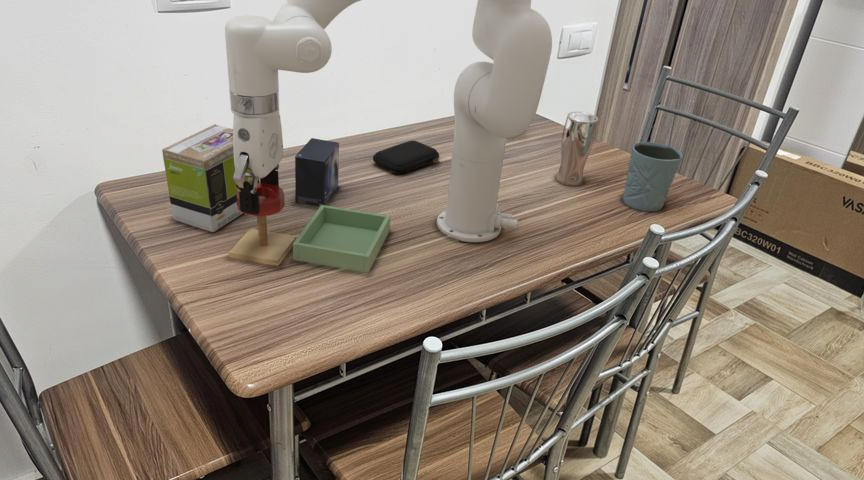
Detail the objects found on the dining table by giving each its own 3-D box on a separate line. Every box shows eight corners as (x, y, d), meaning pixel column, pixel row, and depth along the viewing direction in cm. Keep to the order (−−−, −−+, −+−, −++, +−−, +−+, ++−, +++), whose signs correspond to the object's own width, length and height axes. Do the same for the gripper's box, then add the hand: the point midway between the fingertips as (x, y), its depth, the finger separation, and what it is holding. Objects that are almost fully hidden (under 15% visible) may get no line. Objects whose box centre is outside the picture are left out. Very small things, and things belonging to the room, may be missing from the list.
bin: (389, 232, 130) (390, 215, 128) (368, 275, 118) (368, 256, 116) (321, 221, 132) (321, 204, 130) (293, 261, 120) (292, 243, 118)
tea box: (221, 191, 141) (215, 122, 133) (262, 203, 137) (258, 133, 129) (170, 220, 129) (160, 146, 121) (213, 234, 126) (205, 159, 118)
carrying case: (402, 179, 151) (445, 162, 160) (403, 166, 149) (446, 150, 158) (368, 164, 157) (412, 148, 166) (369, 151, 155) (413, 136, 164)
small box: (325, 209, 137) (325, 160, 131) (294, 205, 138) (292, 156, 132) (340, 187, 145) (340, 141, 140) (310, 183, 146) (310, 136, 141)
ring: (290, 199, 120) (290, 186, 118) (273, 219, 113) (273, 206, 112) (248, 192, 121) (247, 180, 119) (229, 212, 114) (228, 199, 113)
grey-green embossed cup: (610, 200, 148) (624, 148, 142) (632, 187, 155) (646, 137, 148) (654, 217, 143) (670, 164, 136) (675, 203, 149) (691, 151, 143)
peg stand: (296, 243, 125) (295, 191, 119) (278, 268, 118) (275, 213, 112) (250, 235, 126) (246, 183, 121) (229, 259, 119) (224, 205, 113)
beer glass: (551, 182, 154) (563, 118, 146) (557, 171, 160) (569, 109, 152) (581, 189, 152) (596, 124, 144) (587, 177, 158) (601, 114, 150)
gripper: (255, 122, 99) (261, 228, 109) (296, 88, 114) (298, 184, 123) (207, 115, 100) (217, 221, 110) (254, 82, 115) (259, 178, 124)
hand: (260, 201), depth 117 cm, fingers closed on ring, 7 cm apart
